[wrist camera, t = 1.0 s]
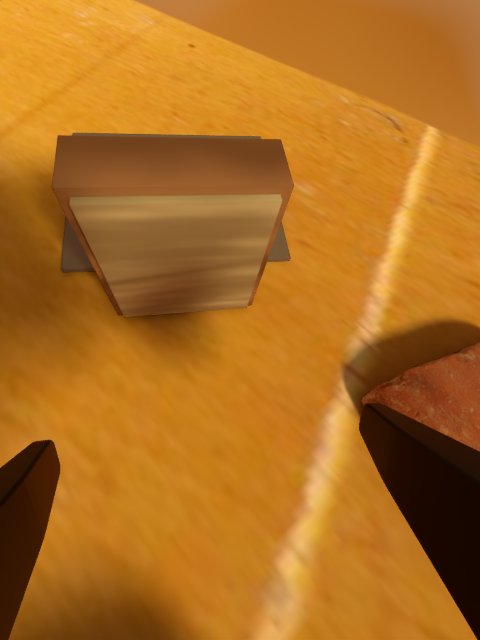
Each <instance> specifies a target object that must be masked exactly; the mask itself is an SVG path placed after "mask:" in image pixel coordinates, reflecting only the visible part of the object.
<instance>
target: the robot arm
mask: <svg viewBox="0 0 480 640" xmlns="http://www.w3.org/2000/svg"><path fill="white" fill-rule="evenodd" d="M359 430H360V433H361V436H362V438H363V440H364V442H365V444H366V446H367V448H368V451H369V453H370V455H371V457H372V459H373V461H374V463H375V465H376V467H377V470H378V472H379V474H380V476H381V478H382V480H383V482H384V483H385V485H386V487H387V489H388V490H389V492H390V494H391V496H392V497H393V499H394V501H395V502H396V504H397V506H398V507H399V509H400V511H401V512H402V514H403V516H404V517H405V519H406V521H407V522H408V524H409V526H410V527H411V529H412V531H413V532H414V534H415V536H416V537H417V539H418V541H419V542H420V544H421V546H422V547H423V549H424V551H425V553H426V554H427V556H428V558H429V559H430V561H431V563H432V564H433V566H434V568H435V569H436V571H437V573H438V574H439V576H440V578H441V579H442V581H443V583H444V584H445V586H446V588H447V589H448V591H449V593H450V594H451V596H452V598H453V599H454V601H455V603H456V604H457V606H458V608H459V610H460V611H461V613H462V615H463V616H464V618H465V620H466V621H467V623H468V625H469V626H470V628H471V630H472V631H473V633H474V635H475V636H476V638H477V640H480V451H478V450H476V449H474V448H472V447H470V446H468V445H466V444H463V443H461V442H459V441H457V440H455V439H453V438H451V437H449V436H447V435H445V434H443V433H441V432H439V431H437V430H435V429H433V428H431V427H429V426H427V425H425V424H422V423H420V422H418V421H416V420H414V419H412V418H410V417H408V416H406V415H404V414H402V413H400V412H398V411H396V410H394V409H392V408H390V407H388V406H386V405H384V404H382V403H379V402H370V403H365V404H364V405H363V407H362V412H361V417H360V423H359ZM59 475H60V462H59V458H58V455H57V451H56V448H55V444H54V442H53V441H52V440H43V441H35V442H33V443H31V444H30V445H29V446H27V447H26V448H25V449H24V450H22V451H21V452H20V453H19V454H17V455H16V456H15V457H14V458H12V459H11V460H10V461H8V462H7V463H6V464H5V465H3V466H2V467H1V468H0V640H8V639H9V636H10V633H11V631H12V628H13V625H14V622H15V619H16V616H17V614H18V611H19V608H20V605H21V602H22V600H23V597H24V594H25V591H26V588H27V585H28V583H29V580H30V577H31V574H32V571H33V568H34V566H35V563H36V560H37V557H38V554H39V551H40V549H41V545H42V542H43V539H44V536H45V532H46V529H47V525H48V521H49V516H50V512H51V508H52V504H53V500H54V496H55V491H56V487H57V483H58V479H59Z"/></svg>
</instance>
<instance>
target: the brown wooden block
mask: <svg viewBox="0 0 480 640" xmlns="http://www.w3.org/2000/svg"><path fill="white" fill-rule="evenodd" d="M293 187H294V184H293V181H292V177H291V174H290V170H289V166H288V163H287V159H286V156H285V152H284V149H283V145H282V142H281V139H226V138H171V137H116V136H60V135H58V138H57V147H56V156H55V164H54V173H53V182H52V189H53V191H54V193H55V195H56V197H57V199H58V200H59V202H60V204H61V206H62V208H63V210H64V212H65V214H66V216H67V218H68V220H69V221H70V223H71V225H72V227H73V229H74V231H75V233H76V235H77V237H78V239H79V241H80V243H81V244H82V246H83V248H84V250H85V252H86V254H87V256H88V258H89V260H90V262H91V264H92V265H93V267H94V269H95V271H96V273H97V275H98V277H99V279H100V281H101V283H102V285H103V286H104V288H105V290H106V292H107V294H108V296H109V298H110V300H111V302H112V304H113V306H114V308H115V309H116V311H117V313H118V315H124V317H131V316H144V315H157V314H170V313H183V312H196V311H209V310H222V309H235V308H247V306H250V305H252V302H253V299H254V296H255V294H256V291H257V288H258V285H259V282H260V279H261V277H262V274H263V271H264V268H265V265H266V263H267V260H268V257H269V254H270V251H271V249H272V246H273V243H274V240H275V237H276V235H277V232H278V229H279V226H280V223H281V221H282V218H283V215H284V212H285V209H286V207H287V204H288V201H289V198H290V195H291V193H292V190H293Z"/></svg>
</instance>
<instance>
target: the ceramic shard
mask: <svg viewBox="0 0 480 640" xmlns="http://www.w3.org/2000/svg"><path fill="white" fill-rule="evenodd" d="M361 401H362V404H363V405H364V404H365V403H370V402H379V403H382V404H384V405H386V406H388V407H390V408H392V409H394V410H396V411H398V412H400V413H402V414H404V415H406V416H408V417H410V418H412V419H414V420H416V421H418V422H420V423H422V424H425V425H427V426H429V427H431V428H433V429H435V430H437V431H439V432H441V433H443V434H445V435H447V436H449V437H451V438H453V439H455V440H457V441H459V442H461V443H463V444H466V445H468V446H470V447H472V448H474V449H476V450H478V451H480V342H478V343H475V344H473V345H472V346H469V347H465V348H464V349H461V350H458V351H456V352H454V353H453V354H451V355H448V356H445V357H443V358H441V359H437V360H434V361H431V362H428V363H425V364H422V365H418V366H415V367H412V368H409V369H408V370H406V371H405V372H403V373H402V374H400V375H399V376H397V377H396V378H394V379H393V380H391V381H387V382H384V383H382V384H380V385H379V386H377V387H376V388H375V389H374V390H372V391H369V392H368V393H367V394H366V395H364V396H363V397H362V399H361Z"/></svg>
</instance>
